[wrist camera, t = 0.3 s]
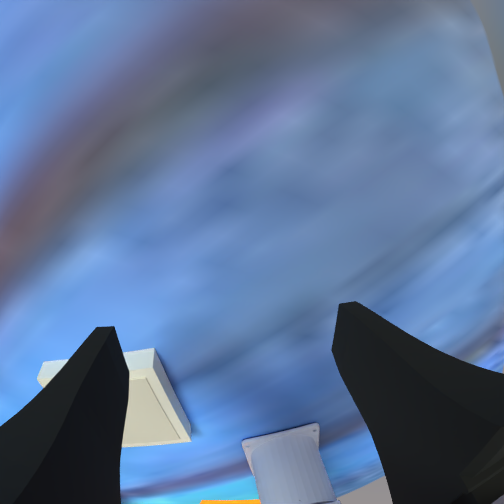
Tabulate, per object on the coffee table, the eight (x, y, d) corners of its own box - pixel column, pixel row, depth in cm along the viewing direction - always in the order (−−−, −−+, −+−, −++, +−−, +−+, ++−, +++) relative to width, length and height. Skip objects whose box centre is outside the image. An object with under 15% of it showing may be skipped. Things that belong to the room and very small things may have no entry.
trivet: (190, 419, 27) (191, 442, 25) (95, 428, 26) (92, 449, 24) (154, 343, 22) (152, 368, 20) (45, 357, 22) (36, 380, 19)
